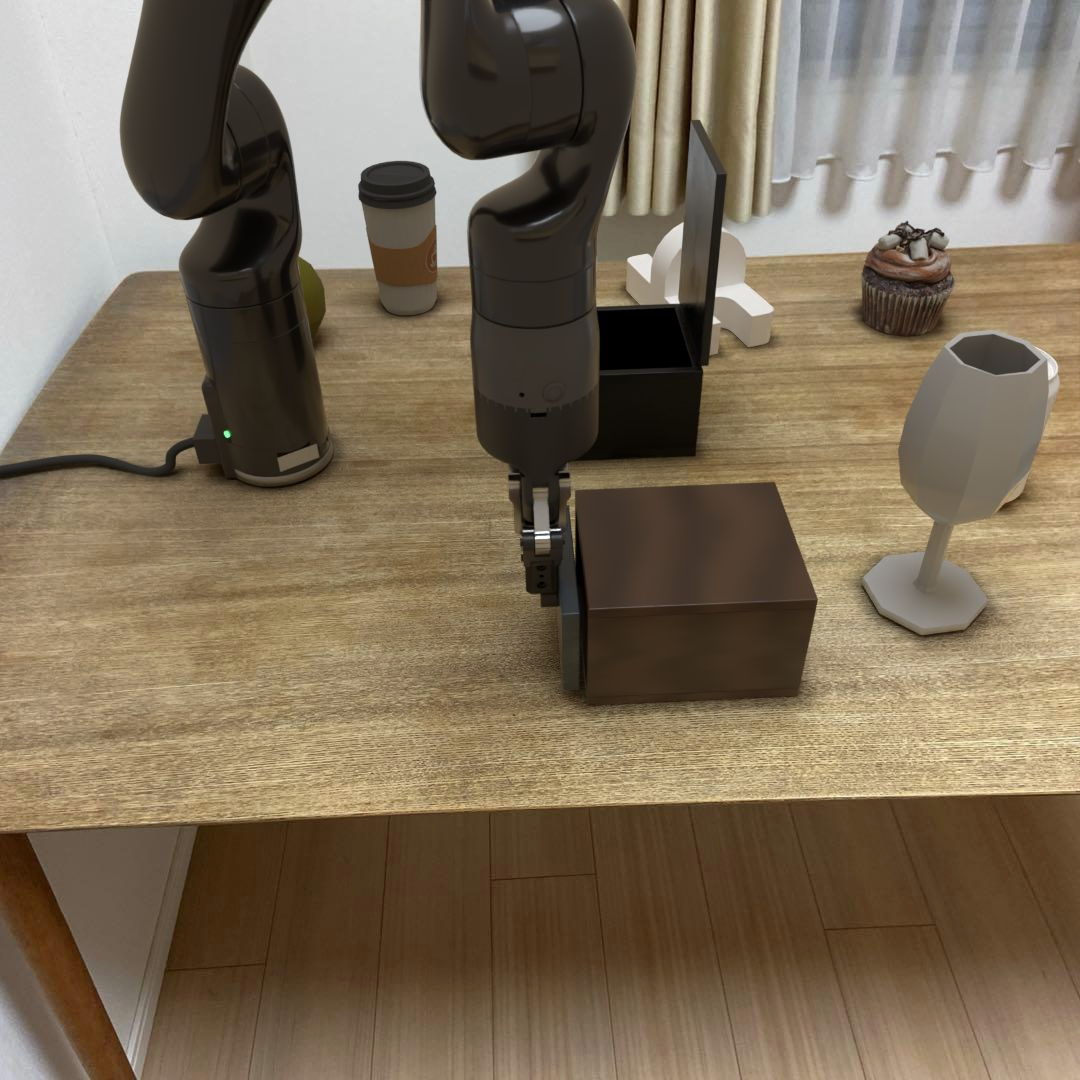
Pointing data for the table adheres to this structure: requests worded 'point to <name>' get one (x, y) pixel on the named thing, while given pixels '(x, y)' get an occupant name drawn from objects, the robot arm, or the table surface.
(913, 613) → the wineglass
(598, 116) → the robot arm
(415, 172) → the coffee cup
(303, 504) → the table surface
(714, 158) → the lid
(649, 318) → the metal box
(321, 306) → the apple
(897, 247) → the cupcake
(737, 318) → the white slotted bracket
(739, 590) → the drawer cabinet
